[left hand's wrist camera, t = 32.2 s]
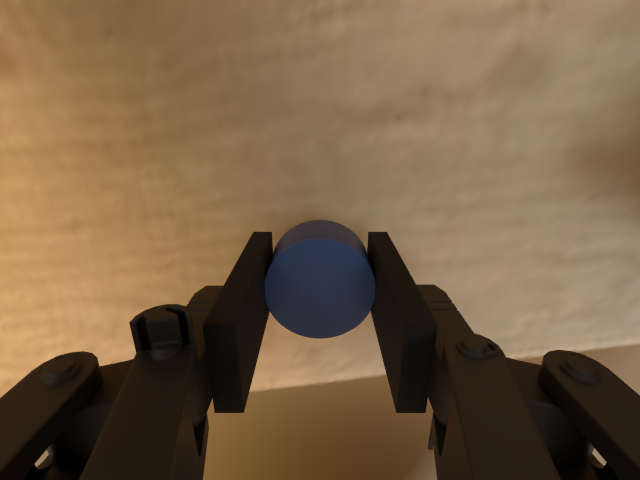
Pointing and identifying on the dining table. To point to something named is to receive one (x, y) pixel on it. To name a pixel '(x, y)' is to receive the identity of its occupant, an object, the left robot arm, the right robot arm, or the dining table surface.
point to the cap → (320, 280)
